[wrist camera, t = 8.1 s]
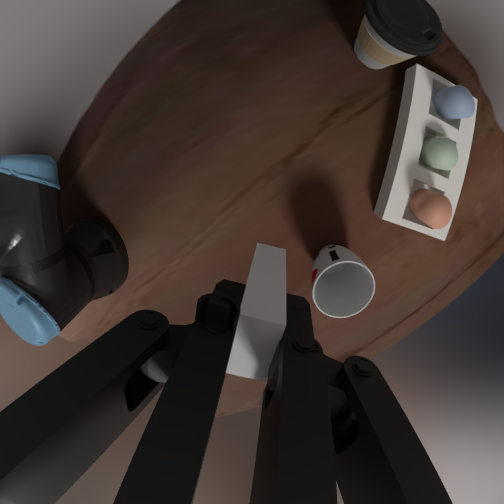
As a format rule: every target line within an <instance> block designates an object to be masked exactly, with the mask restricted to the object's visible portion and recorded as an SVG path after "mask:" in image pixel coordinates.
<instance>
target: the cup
mask: <svg viewBox="0 0 504 504" xmlns="http://www.w3.org/2000/svg"><path fill="white" fill-rule="evenodd" d="M374 291H375V280H374V277H373V275H372V273H371V271H370V270H369V269H368V268H367V267H366V265H365V264H364V263H363V262H362V260H361V259H360V258H359V257H358V256H357V255H355V254H354V253H353V252H351V251H350V250H349V249H347V248H345V247H343V246H339V245H328V246H325V247H324V248H322V249H321V250H320V251H319V253H318V255H317V256H316V258H315V260H314V264H313V271H312V292H313V300H314V303H315V305H316V306H317V308H318V309H319V310H320V311H321V312H322V313H324V314H326V315H328V316H330V317H335V318H345V317H350V316H353V315H355V314H357V313H359V312H360V311H362V310H363V309H364V308H365V307H366V306H367V305H368V304H369V302H370V301H371V299H372V297H373V295H374Z"/></svg>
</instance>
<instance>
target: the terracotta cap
mask: <svg viewBox="0 0 504 504" xmlns="http://www.w3.org/2000/svg"><path fill="white" fill-rule="evenodd" d="M410 210H411V213H412V214H413V215H414V216H415V217H416V218H417V219H419V220H421V221H422V222H424V223H426V224H427V225H429V226H430V227H432V228H434V229H441V228H443V227H445V226H446V225H447V224H448V223H449V221H450V219H451V216H452V205H451V202H450V200H449V199H448V198H447V197H446V196H444V195H441V194H439V193H436V192H433V191H431V190H428V189H425V188H421V189H418V190H416V191H415V192H414V193H413V195H412V197H411V199H410Z"/></svg>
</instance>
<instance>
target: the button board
mask: <svg viewBox="0 0 504 504" xmlns="http://www.w3.org/2000/svg"><path fill="white" fill-rule="evenodd" d="M452 86H456V85H454V84H453V83H451V82H449V81H448V80H446V79H444V78H443V77H441V76H439V75H437V74H436V73H434V72H432V71H430V70H428V69H426V68H424V67H423V66H421V65H419V64H415V65H414V66H412V67H410V68H408V69H406V74H405V81H404V87H403V93H402V99H401V105H400V110H399V115H398V120H397V125H396V130H395V134H394V139H393V143H392V147H391V152H390V156H389V160H388V164H387V167H386V171H385V175H384V179H383V182H382V186H381V189H380V193H379V196H378V200H377V203H376V206H375V209H374V213H375V214H376V215H377V216H379V217H380V218H381V219H383V220H386V221H389V222H392V223H395V224H398V225H401V226H404V227H407V228H410V229H413V230H416V231H419V232H422V233H424V234H427V235H430V236H433V237H435V238H438V239H441V240H443V241H445V239H446V236H447V233H448V230H449V228H450V225H451V222H452V219H453V216H454V212H455V209H456V206H457V203H458V199H459V196H460V192H461V188H462V185H463V181H464V177H465V172H466V168H467V164H468V159H469V154H470V149H471V144H472V138H473V132H474V125H475V118H476V109H477V99H476V98H474V97H473V99H474V102H475V111H474V114H473V115H472V116H471V117H469V118H458V119H444V118H442V117H441V116H440V115H439V114H438V113H437V111H436V110H435V108H434V104H433V96H434V94H435V92H436V91H438V90H441V89H445V88H448V87H452ZM426 137H446V138H449V139H451V140H452V141H453V142H454V143H455V145H456V147H457V150H458V162H457V164H456V166H455V167H454V168H453V169H451V170H448V171H447V170H442V169H437V168H432V167H427V166H425V165H424V164H423V163H422V162H421V161H420V159H419V157H420V152H421V148H422V144H423V139H424V138H426ZM421 188H425V189H428V190H431V191H433V192H436V193H439V194H441V195H444V196H446V197H447V198H448V199H449V200H450V202H451V205H452V216H451V219H450V221H449V223H448V224H447V225H446V226H445V227H443V228H441V229H434V228H432V227H430V226H429V225H427V224H426V223H424V222H422V221H421V220H419V219H417V218H416V217H415V216H414V215H413V214H412V213H411V210H410V199H411V197H412V195H413V193H414V192H415V191H416V190H418V189H421Z"/></svg>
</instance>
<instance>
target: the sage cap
mask: <svg viewBox="0 0 504 504" xmlns="http://www.w3.org/2000/svg"><path fill="white" fill-rule="evenodd" d="M419 159H420V161H421V162H422V163H423V164H424V165H425V166H427V167H432V168H437V169H442V170H447V171H448V170H451V169H453V168H454V167H455V166H456V164H457V162H458V150H457V147H456V145H455V143H454V142H453V141H452V140H451V139H449V138H446V137H426V138H424V139H423V144H422V148H421V152H420V157H419Z"/></svg>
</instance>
